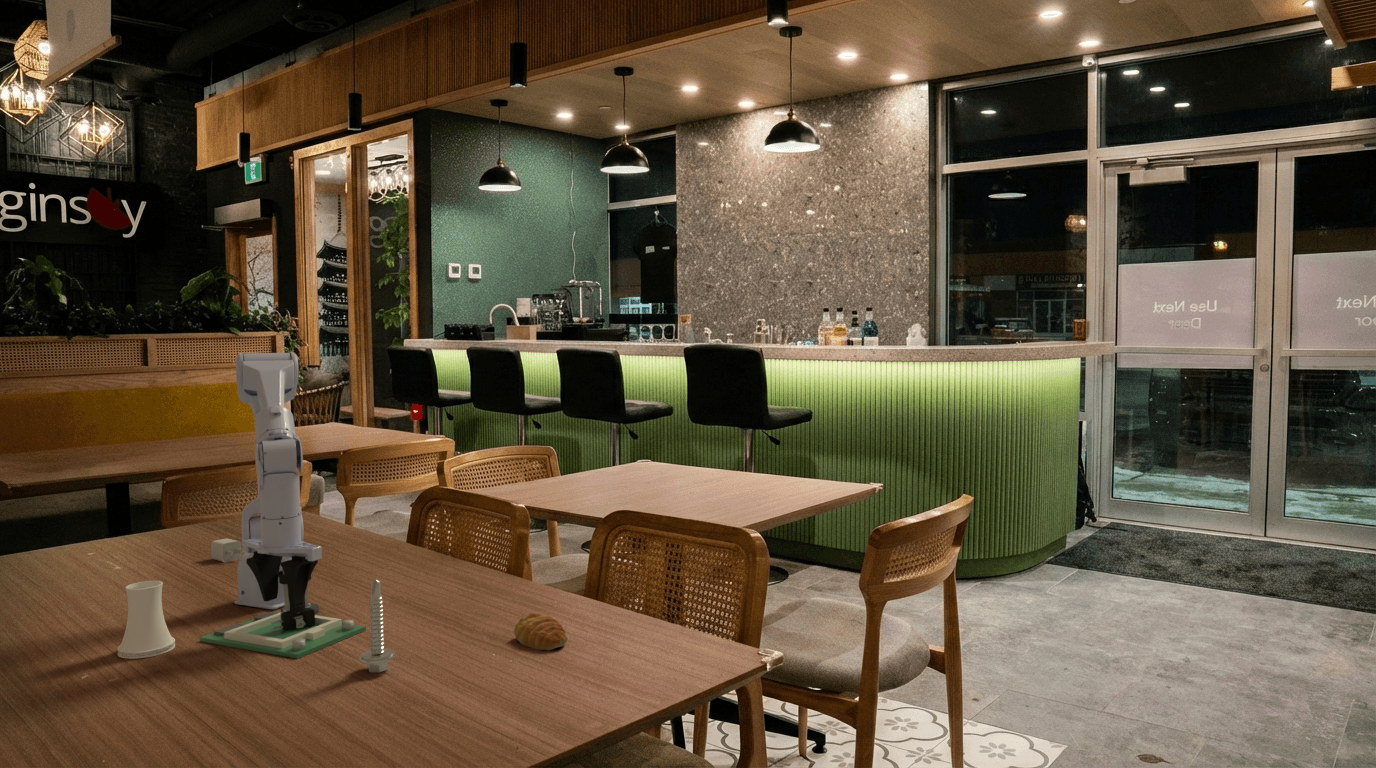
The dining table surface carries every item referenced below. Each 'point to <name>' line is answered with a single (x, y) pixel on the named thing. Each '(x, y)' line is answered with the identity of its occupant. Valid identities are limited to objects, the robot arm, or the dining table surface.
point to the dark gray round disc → (313, 606)
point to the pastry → (540, 632)
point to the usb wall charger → (226, 550)
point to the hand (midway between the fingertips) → (283, 601)
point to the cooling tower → (145, 622)
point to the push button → (294, 610)
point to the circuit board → (283, 635)
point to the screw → (376, 634)
